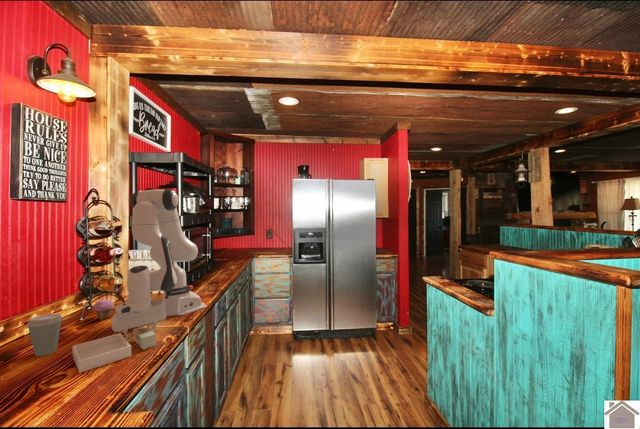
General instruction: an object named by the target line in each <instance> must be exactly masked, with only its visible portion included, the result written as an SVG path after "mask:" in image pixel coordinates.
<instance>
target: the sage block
mask: <svg viewBox="0 0 640 429" xmlns="http://www.w3.org/2000/svg"><path fill="white" fill-rule="evenodd" d="M155 345H156V346H157V334H156V333H155V332H153V331H150V332H146V333H143V334H139V344H138V347H139V348H140V347H141V348H142V349H144V350H147V349H150V348H153V347H152V346H154V347H156V346H155ZM149 347H150V348H149ZM141 348H140V349H141ZM146 348H147V349H146ZM142 349H141V350H142Z"/></svg>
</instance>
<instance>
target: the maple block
mask: <svg viewBox="0 0 640 429" xmlns="http://www.w3.org/2000/svg"><path fill="white" fill-rule="evenodd" d="M146 332H150V328H149V327H148V326H147V325H143V326H140V327H136V328H133V341H134V342H135V343H136V344H137V345H139V334H143V333H146Z"/></svg>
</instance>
